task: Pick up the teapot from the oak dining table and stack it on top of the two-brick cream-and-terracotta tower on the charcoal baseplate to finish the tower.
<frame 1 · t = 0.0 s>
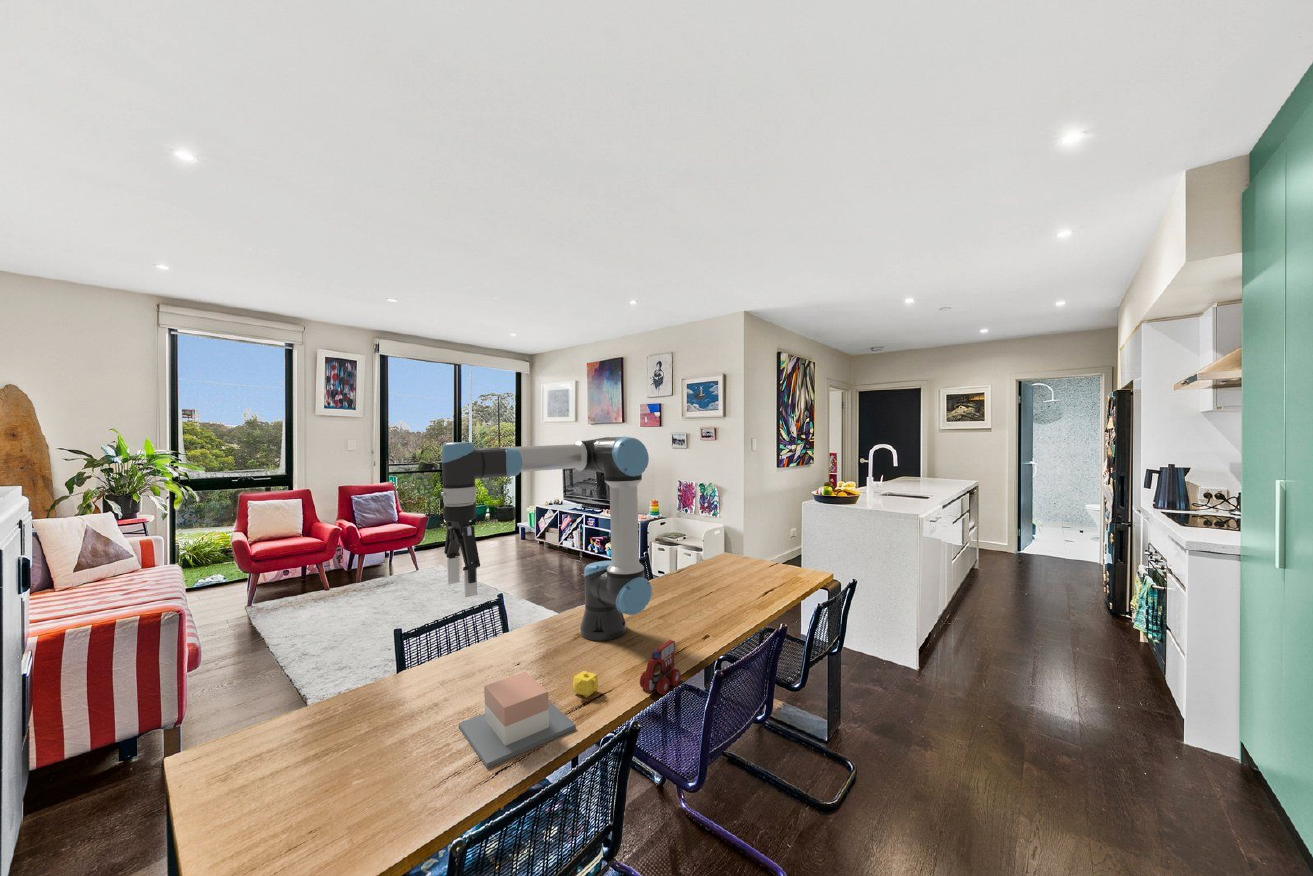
hand: (462, 589, 123), 28 cm above the table, fingers open, 13 cm apart
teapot: (583, 694, 126), on the table
toy fire truck: (660, 687, 129), on the table
tower base: (516, 728, 112), on the table
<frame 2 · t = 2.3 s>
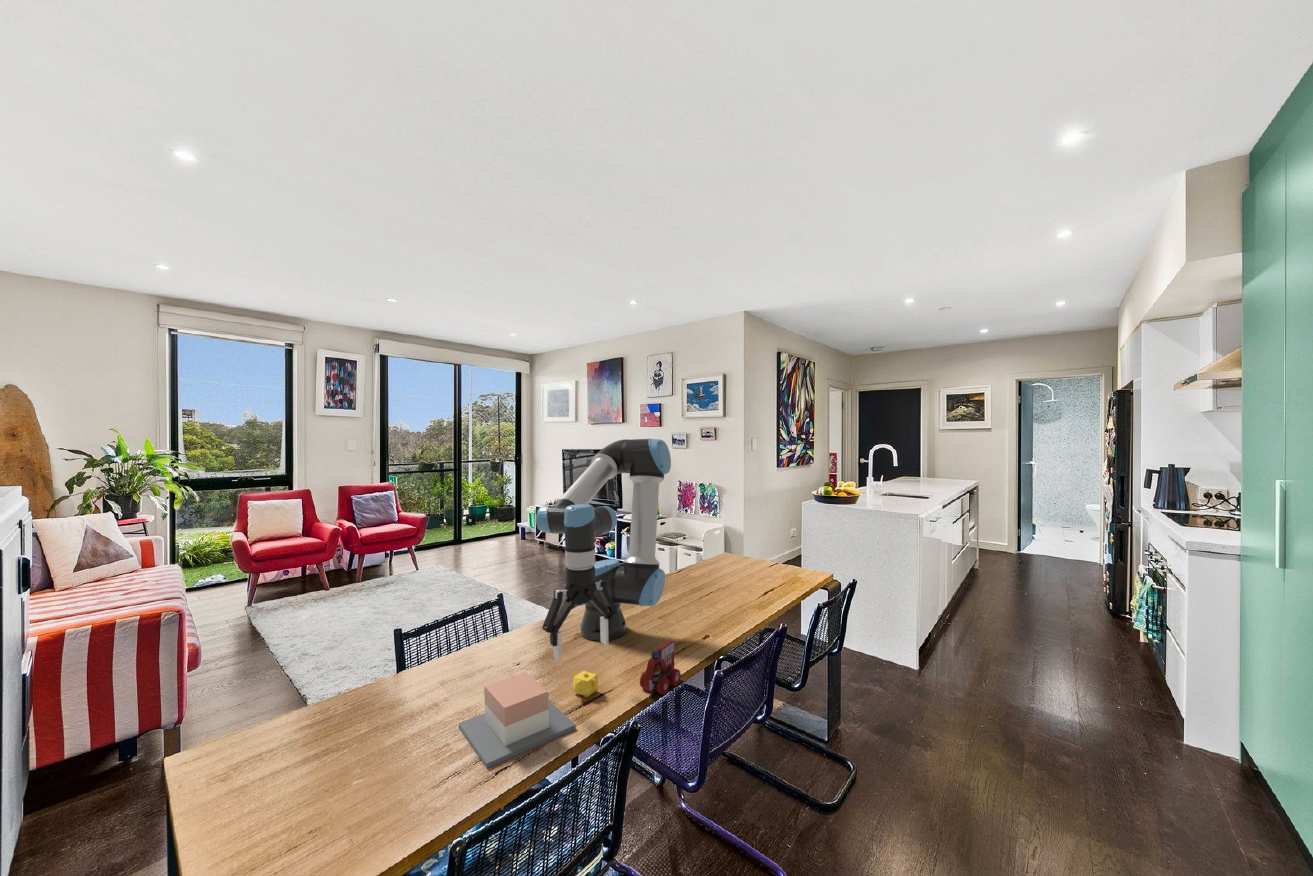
hand: (581, 650, 125), 11 cm above the table, fingers open, 13 cm apart
nothing on the table moved.
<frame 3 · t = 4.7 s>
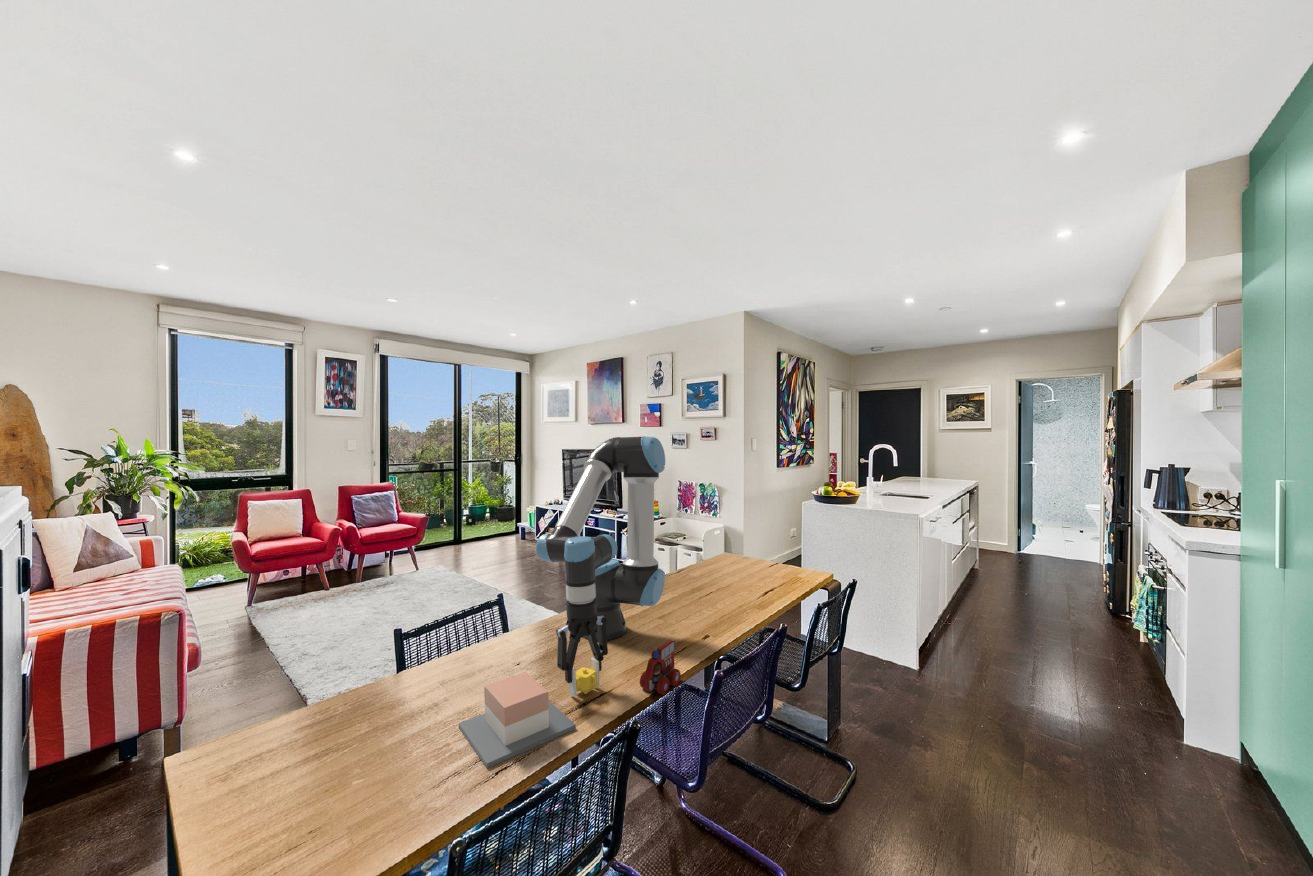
hand: (584, 688, 126), 1 cm above the table, fingers closed on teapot, 6 cm apart
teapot: (583, 691, 126), point 1 cm above the table, touching gripper
everything else where it was.
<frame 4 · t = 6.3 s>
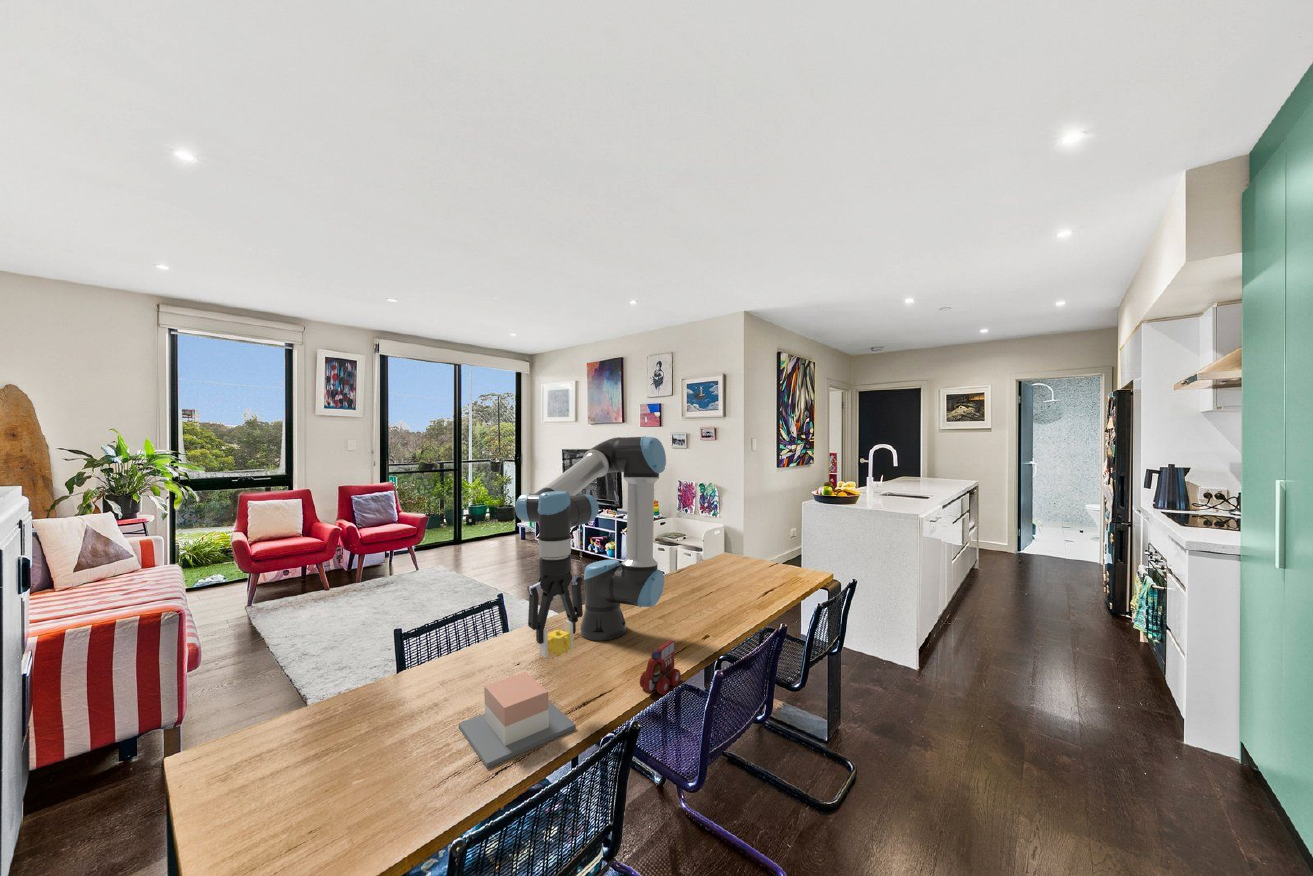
hand: (556, 651, 120), 14 cm above the table, fingers closed on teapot, 6 cm apart
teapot: (555, 653, 119), point 13 cm above the table, touching gripper
everything else where it was.
when the fingers open (10 cm above the table, at t = 8.0 s): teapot stays where it is, resting on tower base.
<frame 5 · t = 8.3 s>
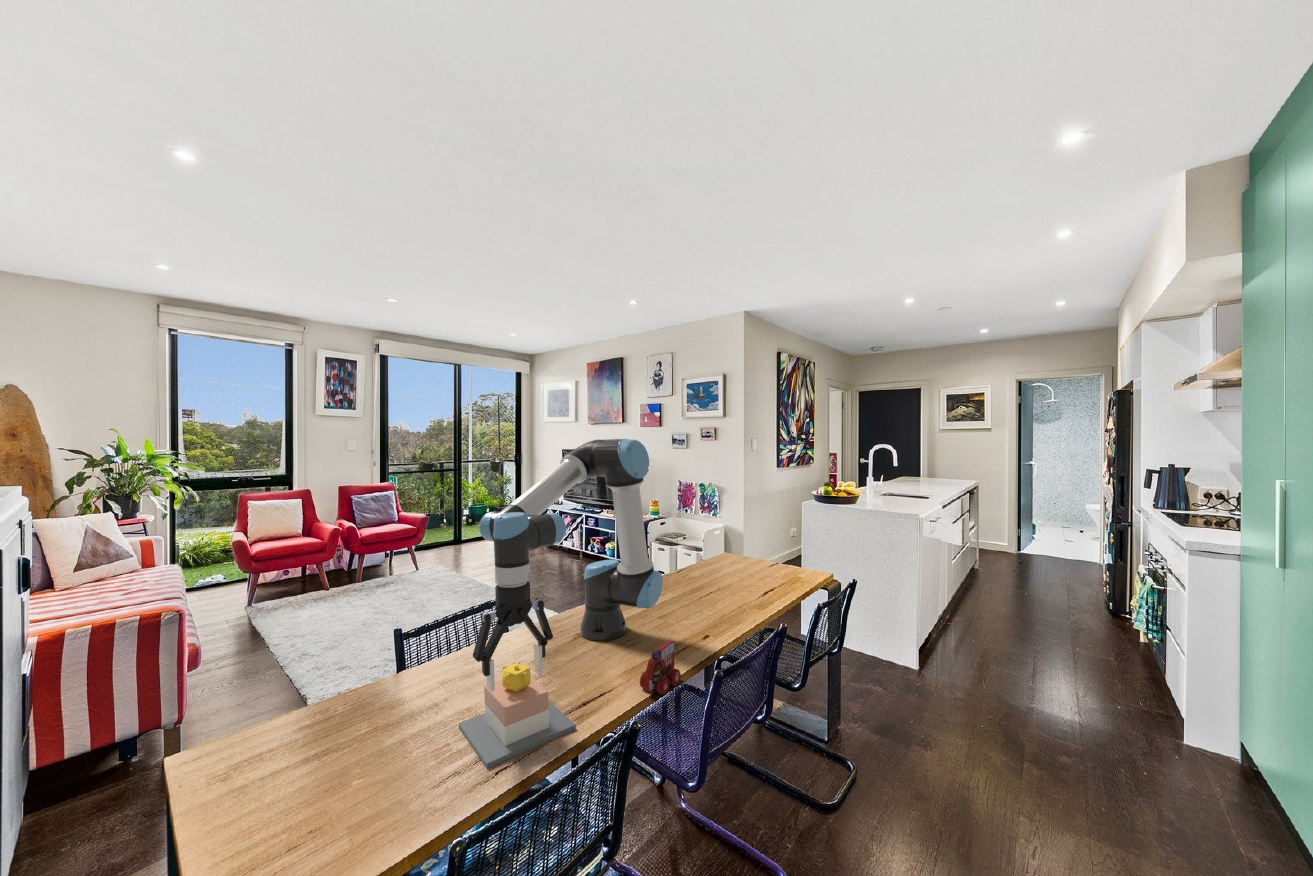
hand: (515, 680, 111), 11 cm above the table, fingers open, 10 cm apart
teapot: (513, 690, 111), point 9 cm above the table, touching tower base
everything else where it was.
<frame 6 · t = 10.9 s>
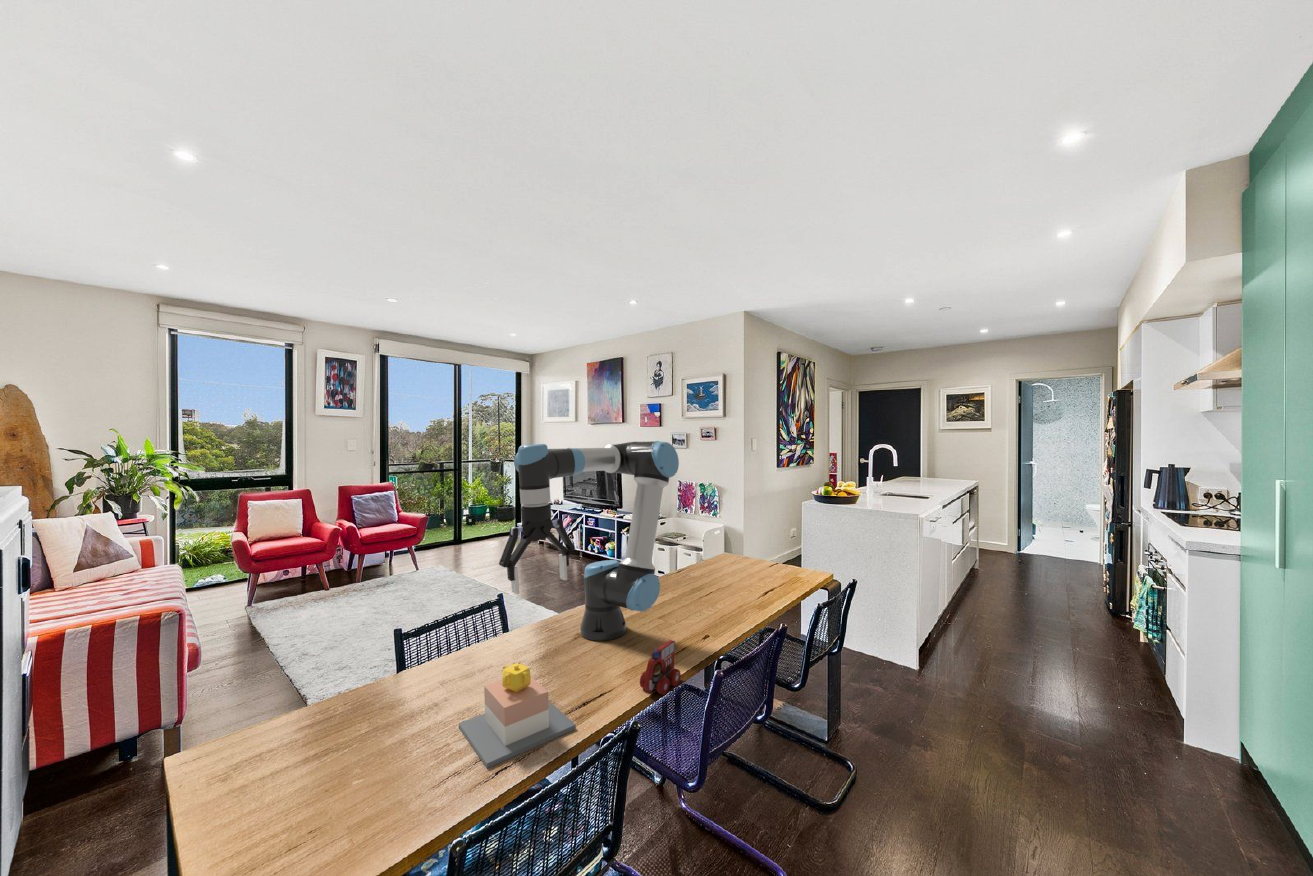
hand: (540, 585, 128), 27 cm above the table, fingers open, 13 cm apart
nothing on the table moved.
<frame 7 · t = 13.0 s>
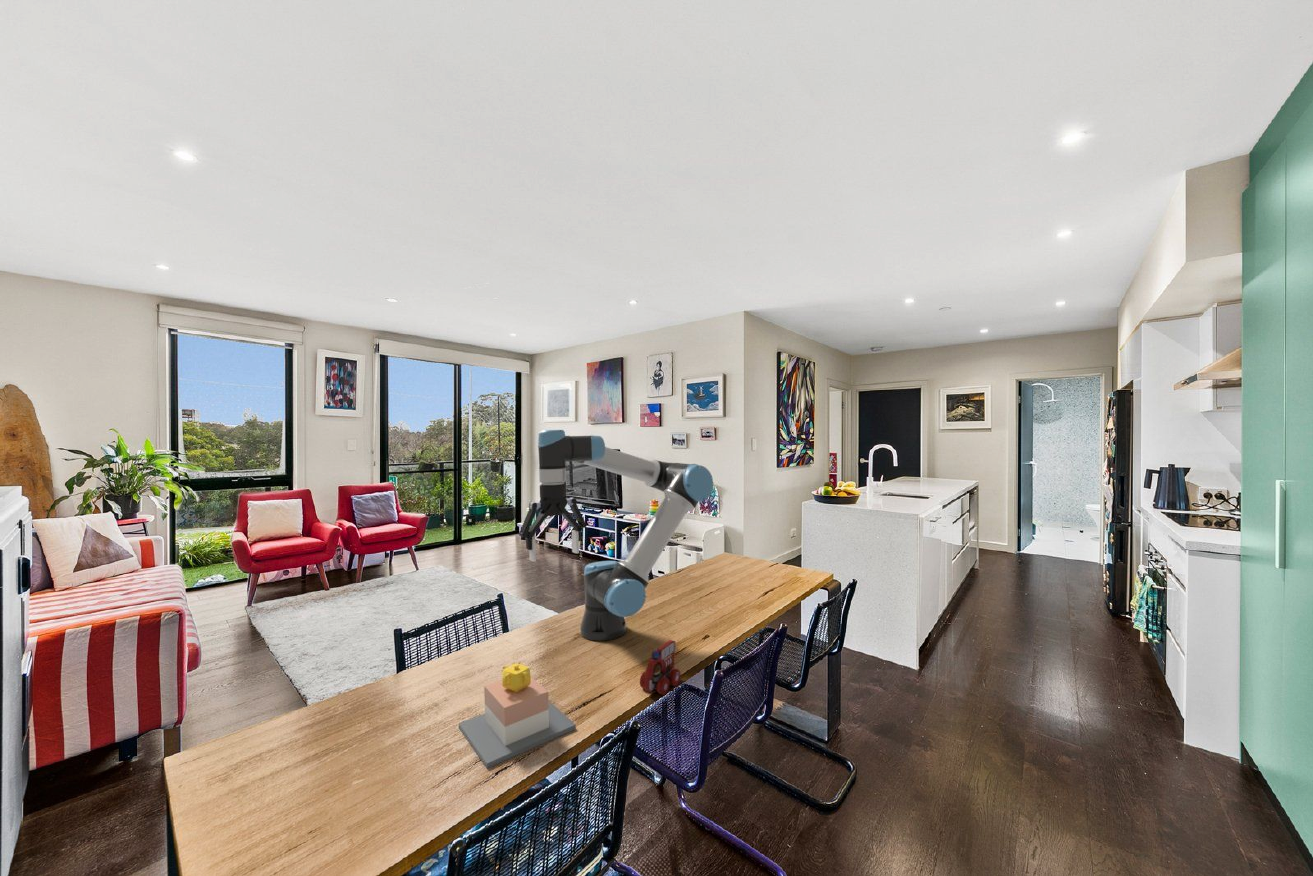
hand: (554, 556, 143), 31 cm above the table, fingers open, 13 cm apart
nothing on the table moved.
at the end: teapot 0.4 cm off-centre on the tower base, point 8.8 cm above the tower base's base; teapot tilted 0°; the gripper is holding nothing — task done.
